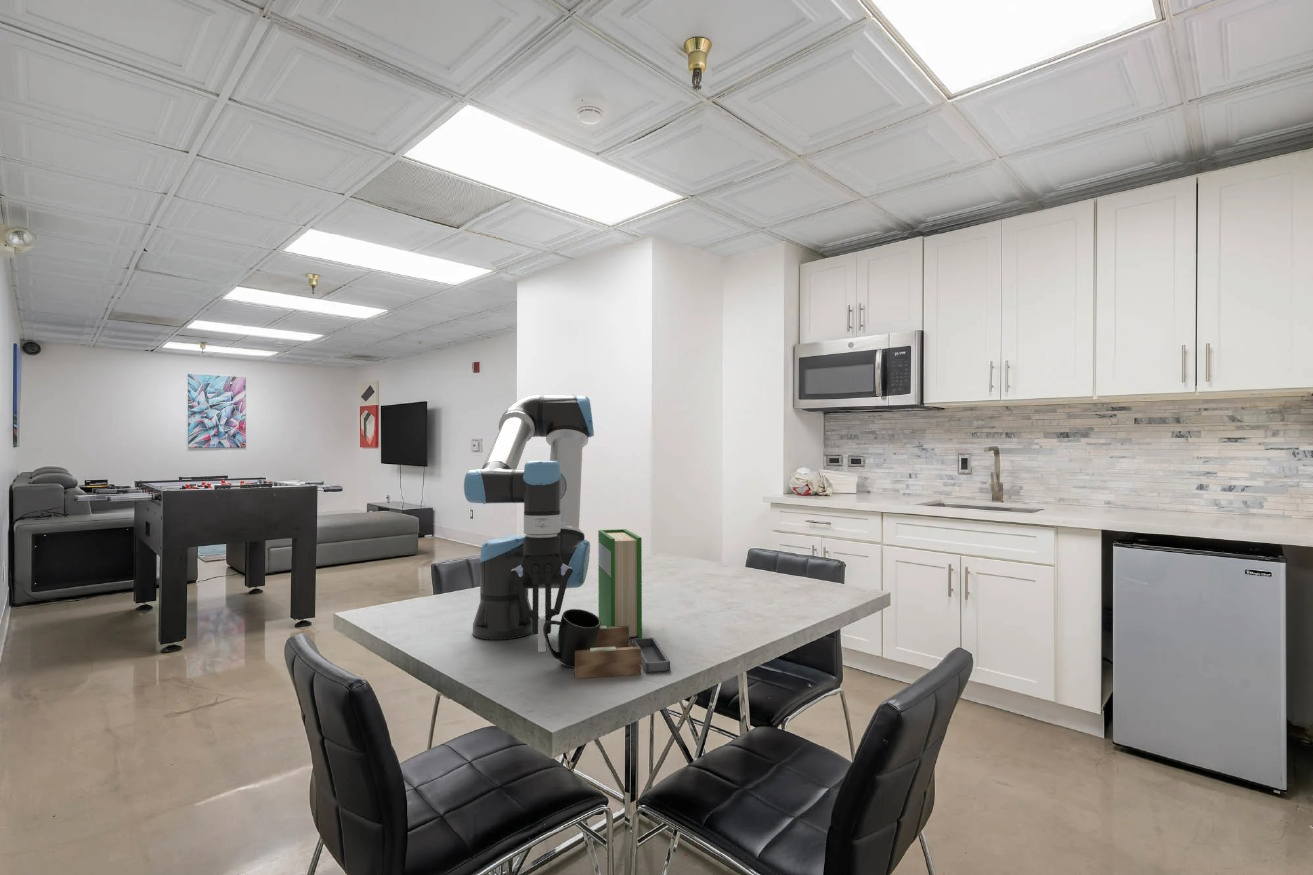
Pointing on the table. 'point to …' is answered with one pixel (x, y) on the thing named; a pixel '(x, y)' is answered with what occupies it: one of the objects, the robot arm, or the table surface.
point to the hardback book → (620, 579)
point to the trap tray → (652, 655)
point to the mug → (573, 634)
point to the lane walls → (609, 655)
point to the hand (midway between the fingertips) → (541, 649)
